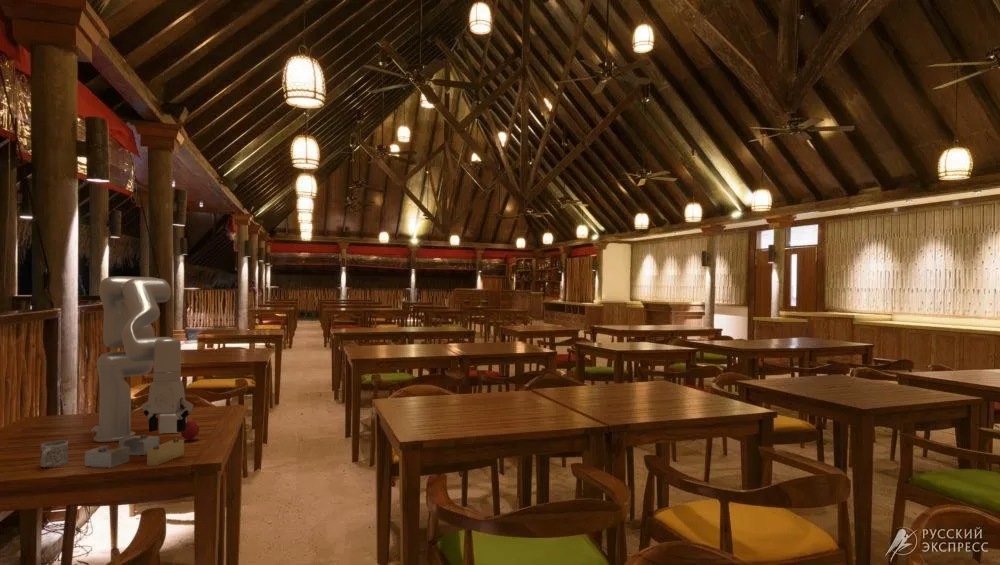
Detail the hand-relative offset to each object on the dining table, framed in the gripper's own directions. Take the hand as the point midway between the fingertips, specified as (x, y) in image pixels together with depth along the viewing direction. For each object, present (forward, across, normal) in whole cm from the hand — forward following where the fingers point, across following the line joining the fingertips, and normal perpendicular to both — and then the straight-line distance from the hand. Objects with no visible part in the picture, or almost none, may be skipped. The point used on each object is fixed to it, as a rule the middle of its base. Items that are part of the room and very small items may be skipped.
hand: (167, 431), depth 181 cm
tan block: (+9, -1, 0) cm, 9 cm away
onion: (+9, -9, +22) cm, 26 cm away
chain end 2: (+9, -16, +7) cm, 19 cm away
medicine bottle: (+8, -25, +34) cm, 43 cm away
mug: (+9, -31, -11) cm, 34 cm away
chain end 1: (+9, -16, -6) cm, 19 cm away
